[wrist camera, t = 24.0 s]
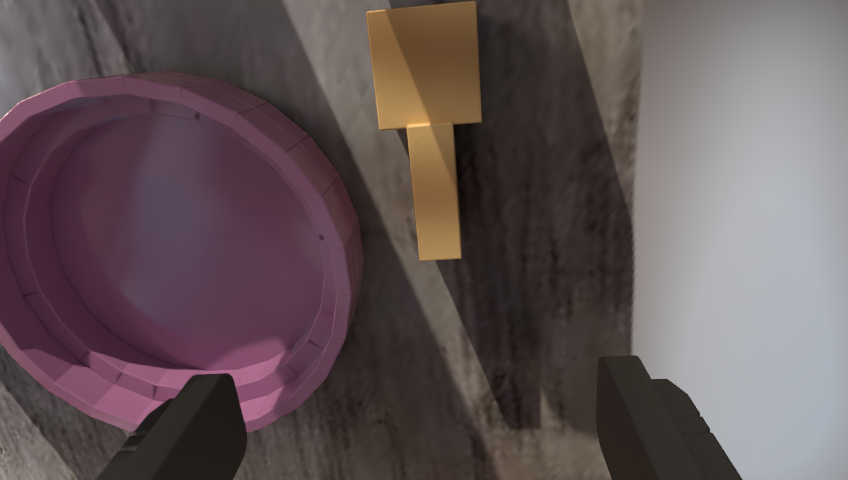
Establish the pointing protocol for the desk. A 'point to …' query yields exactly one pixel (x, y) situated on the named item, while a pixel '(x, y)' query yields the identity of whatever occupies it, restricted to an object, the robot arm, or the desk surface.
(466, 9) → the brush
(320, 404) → the desk surface
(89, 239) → the bowl
